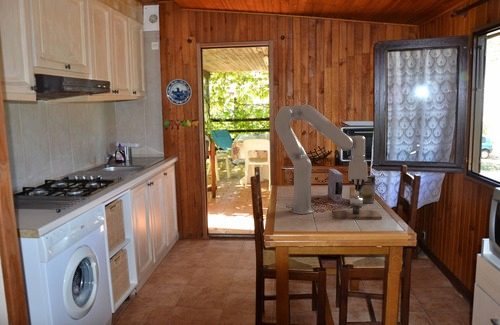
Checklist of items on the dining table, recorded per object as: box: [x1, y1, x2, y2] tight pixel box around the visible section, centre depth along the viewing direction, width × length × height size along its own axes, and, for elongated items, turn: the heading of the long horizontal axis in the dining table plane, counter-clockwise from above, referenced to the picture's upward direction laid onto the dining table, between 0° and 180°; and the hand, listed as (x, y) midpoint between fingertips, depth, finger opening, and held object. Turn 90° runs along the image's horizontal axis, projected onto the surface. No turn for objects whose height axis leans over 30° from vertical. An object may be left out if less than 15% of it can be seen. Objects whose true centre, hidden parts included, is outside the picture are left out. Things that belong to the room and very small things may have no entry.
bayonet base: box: [331, 205, 383, 220], centre depth 217 cm, size 24×12×6 cm, turn 86°
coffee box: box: [358, 174, 376, 204], centre depth 246 cm, size 9×6×16 cm
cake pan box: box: [327, 168, 344, 203], centre depth 255 cm, size 19×5×18 cm, turn 3°
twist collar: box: [349, 185, 364, 207], centre depth 221 cm, size 15×6×8 cm, turn 179°
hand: (357, 191), depth 226 cm, fingers closed
